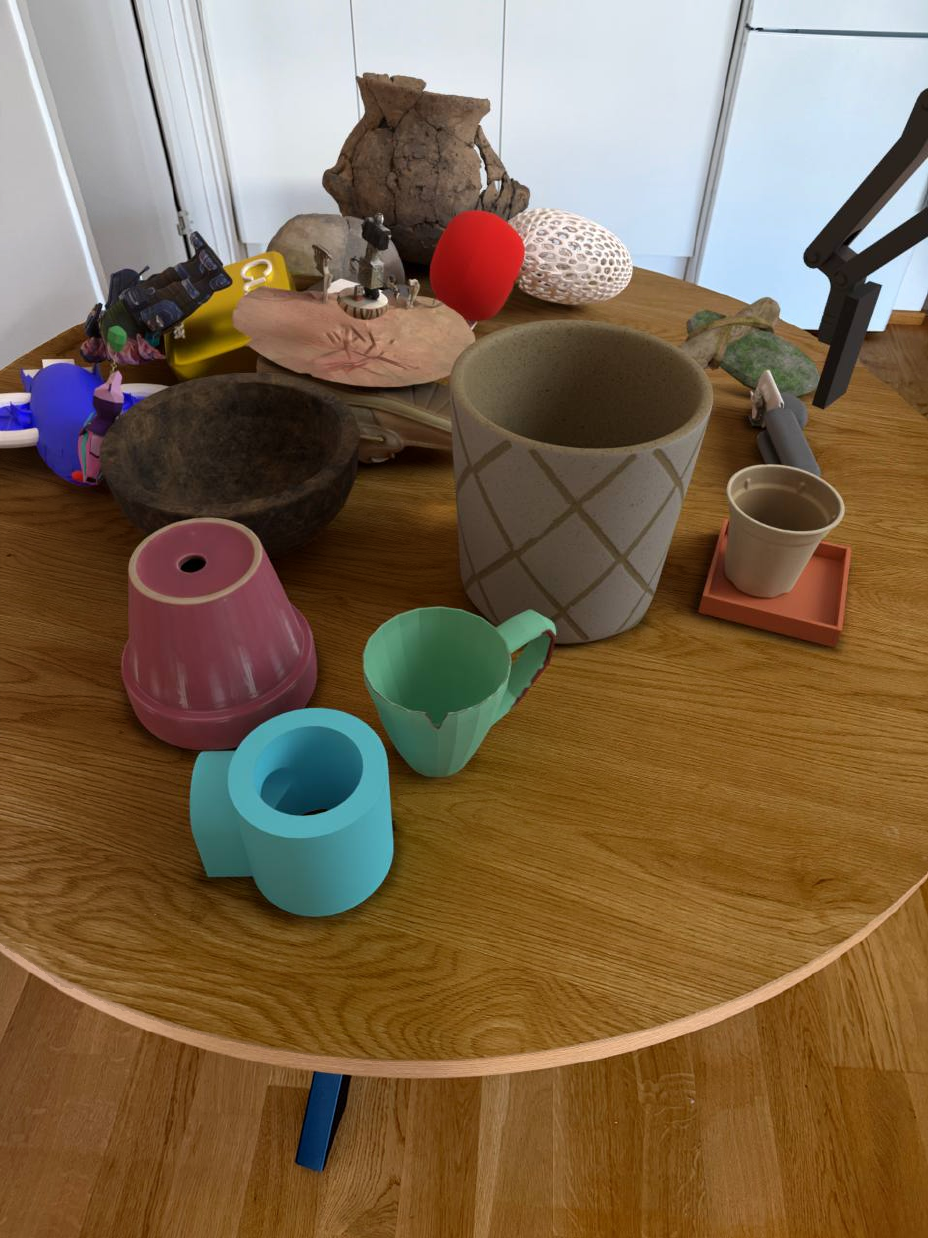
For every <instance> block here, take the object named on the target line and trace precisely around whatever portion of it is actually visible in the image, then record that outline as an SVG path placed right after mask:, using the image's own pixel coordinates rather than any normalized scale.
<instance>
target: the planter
mask: <svg viewBox="0 0 928 1238" xmlns="http://www.w3.org/2000/svg"><path fill="white" fill-rule="evenodd" d="M449 387H450V407H451V428H452V445H453V451H452V458H453V459H452V460H453V474H454V486H455V487H454V488H455V503H456V517H457V519H456V520H457V531H458V532H457V533H458V534H457V536H458V552H459V571H460V577H461V583H462V585H463V588H464V591H465V593H466V595H467V597H468V599H470V601H471V603H472V604H473V605H474V606H475V607H476V608H477V610H479V612H480V613H481V614H482V615H483V616H484V617H485V618H486V619H487V620H488V622H489V623H490V624H491V625H493V626H494V627H498V626H499V625H501V624H502V623H504V622H505V621H507V620H509V619H510V618H512V617H514V616H516V615H518V614H520V613H522V612H524V611H526V610H529V609H530V610H533V611H535V612H537V613H539V614H540V615H542V616H544V617H546V618H548V619H549V620H551V621H552V622H553V623H554V625H555V628H556V638H555V643H554V644H557V645H558V644H560V645H563V644H564V645H567V644H568V645H569V644H572V645H573V644H582V643H590V642H595V641H600V640H604V639H607V638H608V639H609V638H611V637H614V636H617V635H620V634H624V633H625V632H627V631H630V630H631V629H633V628H634V627H636V626H637V625H638V624H639V623H640V622H641V621H642V619H643V618H644V617H645V615H646V613H647V611H648V610H649V608H650V605H651V602H652V600H653V599H654V597H655V593H656V590H657V588H658V586H659V585H658V584H659V581H660V578H661V575H662V572H663V568H664V565H665V561H666V558H667V555H668V552H669V549H670V545H671V543H672V540H673V536H674V532H675V530H676V526H677V524H678V520H679V517H680V514H681V511H682V508H683V505H684V501H685V499H686V498H685V497H686V496H687V493H688V489H689V485H690V483H691V479H692V476H693V472H694V469H695V467H696V463H697V460H698V457H699V454H700V450H701V447H702V444H703V440H704V437H705V434H706V431H707V426H708V423H709V420H710V417H711V412H712V409H713V404H714V391H713V385H712V382H711V379H710V377H709V376H708V374H707V373H706V371H705V369H704V370H703V368H702V367H701V366H700V365H699V364H698V363H697V362H696V361H695V360H694V359H693V358H692V357H690V356H689V355H688V354H687V353H685V352H684V351H682V350H681V349H679V348H678V347H677V346H676V345H675V344H673V343H671V342H669V341H667V340H665V339H663V338H660V337H658V336H656V335H653V334H651V333H648V332H645V331H642V330H639V329H636V328H633V327H629V326H625V325H620V324H616V323H610V322H605V321H598V320H596V321H595V320H587V319H565V318H563V319H545V320H537V321H536V320H535V321H529V322H524V323H519V324H515V325H510V326H507V327H503V328H501V329H498V330H494V331H492V332H490V333H488V334H486V335H484V336H482V337H480V338H478V339H476V341H475V342H474V343H472V344H471V345H469V346H468V347H467V348H466V349H465V350H464V351H463V352H462V353H461V354H460V355H459V356H458V358H457V359H456V361H455V363H454V365H453V367H452V370H451V374H450V375H449Z"/></svg>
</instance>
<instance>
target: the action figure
mask: <svg viewBox="0 0 928 1238" xmlns="http://www.w3.org/2000/svg"><path fill="white" fill-rule="evenodd" d="M189 242H190V245H191V246H192V247H193V249H194V255H193V256H192V257H190V258H189V259H188V260H186V261H183V262H179V263H177V264H176V265H174V266H168V267H167V268H165V269H164V270H163V271H162V272H157V273H152V274H151V275H150V276H149V277H147V278H146V279H142V280H139V279H140V276H142V275H143V274H145V272H148V271H149V270H150V269H151V268H150V266H149V265H146V266H145V267H144V268H143V269H142V270H141V271H139V273H138V272H137V270H135V269H131V268H123V269H119V270H118V271H116V272H112V273H111V274H110V276H109V279H110V281H109V287H108V294H107V301H106V303H105V304H104V303H102V302H98V303H95V304H94V306H93V307H92V308H91V310H90V311H89V313H88V314H87V317H86V320H85V325H84V328H83V332H84V334H85V335H86V336H87V337H88V338H89V339H88V340H86V341H83V342H82V344H81V347H80V348H79V349H78V353H79V355H80V357H81V358H82V359H83V361H84V362H85V363H87V364H93V363H94V364H95V363H97V364H101V363H104V362H105V361H107V362H108V363H110V362H111V361H113V362H114V360H117V359H118V360H117V361H115V364H119V365H122V366H128V365H129V364H130V365H133V366H136V365H137V366H139V365H147V364H149V363H150V362H151V361H155V360H156V359H159V360H166V355H164V354H161V352H160V351H159V350H158V349H156V347H154V348H153V347H151V346H150V345H149V342H147V341H146V340H145V337H146V333H148V334H149V335H150V336H152V335H154V334H155V333H156V332H158V331H160V333H158V334H157V335H155V336H154V338H155V339H156V338H158V337H160V338H161V336H164V334H166V333H168V332H170V331H171V330H172V329H173V328H175V327H176V326H177V325H179V324H180V323H181V322H182V321H184V320H185V319H186V318H188V317H189V316H190V315H192V314H193V313H194V312H195V311H196V310H197V309H198V308H199V307H200V306H202V305H203V304H204V303H206V302H207V301H208V300H209V299H210V298H211V297H212V295H213V294H214V292H217V291H221V290H223V289H226V288H228V287H230V286H231V285H232V284H233V280H232V278H231V277H230V276H229V274H228V273H227V272H226V271H225V270H224V268H223V266H224V263H223V262H222V260H221V259H220V258H219V256H218V255H217V253H216V252H215V251H214V250H213V248H212V247H211V246H210V245H209V244H208V243H207V241H206V240H205V239H204V237H203V236H202V235H201V234H200V233H199V231H198V230H195V231H192V232H191V233H190V235H189ZM103 305H104V310H105V309H106V311H104V310H103ZM114 326H119V327H121V328H122V329H123V330H124V331H125V332H126V334H127V335H128V339H127V342H126V345H125V346H124V348H123V349H122V350H121V351H120V352H119V353H118V355H116V357H117V358H115V354H117V353H116V352H115V351H114V350H112V349H111V348H110V345H109V341H108V332H109V328H111V327H114ZM114 353H115V354H114ZM113 357H114V358H113ZM112 358H113V359H114V360H113V359H112Z"/></svg>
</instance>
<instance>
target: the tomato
mask: <svg viewBox="0 0 928 1238" xmlns="http://www.w3.org/2000/svg"><path fill="white" fill-rule="evenodd" d="M520 235H521V234H518V233H517V231H516V230H515V229H513V228H512V227H511V226H510V225H509V224H508V223H507V222H506V221H504V220H503V219H502V218H500V217H498V216H497V215H495V214H493V213H489V212H486V211H477V210H472V211H465V212H463V213H461V214H459V215H457V216H455V217H454V218H453V219H452V220H451V221H450V222H449V224H448V226H447V227H446V229H445V231H444V232H443V234H442V236H441V238H440V240H439V242H438V244H437V246H436V249H435V252H434V255H433V258H432V262H431V265H429V269H430V270H429V281H430V285H431V289H432V292H433V295H434V297H435V299H436V300H438V301H441V302H443V303H444V304H445V305H446V306H448V307H449V308H451V309H453V310H455V311H456V312H457V313H459V314H460V315H461V316H462V317H463V318H464V320H468V321H477V322H483V321H487V320H490V319H492V318H493V317H495V316H496V315H498V313H499V312H500V310H502V309H503V307H504V306H505V305H506V303H507V302H508V300H509V299H510V297H511V295H512V293H513V291H514V289H515V287H517V286H518V287H519V285H520V281H518V280H517V279H518V277H519V276H518V275H519V274H520V273H519V272H521V271H520V269H521V270H522V271H523V266H522V264H523V261H524V256H525V246H524V243H523V240H522V238H521V237H520ZM525 259H527V258H525ZM524 262H525V261H524ZM523 265H524V264H523ZM518 287H517V288H518Z"/></svg>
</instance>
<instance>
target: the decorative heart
mask: <svg viewBox="0 0 928 1238" xmlns="http://www.w3.org/2000/svg"><path fill="white" fill-rule="evenodd" d="M508 224H509V225H510V226H511V227H512V228H513V229H515V230H516V231H517V233H518V234H519V235H520V237H521V238H522V240H523V243H524V246H525V256H524V261H525V262H524V261H523V264H524V265H523V264H522V266H523V267H522V270H521V269H520V271H521V272H519V273H520V274H519V275H518V276H519V277H518V279H517V280H518V281H520V285H519V287H518V286H516V288H518V289H519V290H521V291H522V292H523V293H525V294H528V295H529V296H532V297H534V298H536V299H539V300H542V301H545V302H549V303H554V304H560V305H571V306H572V305H573V306H578V305H579V306H583V305H593V304H598V303H601V302H605V301H608V300H611V299H612V298H615V297H617V296H618V295H619V294H621V293H622V291H623V290H625V289H626V287H627V286H628V285H629V284H630V281H631V279H632V276H633V270H634V269H633V261H632V256H631V254H630V252H629V250H628V249H627V247H626V246H625V244H624V243H623V242H622V241H621V240H620V239H619V238H618V237H617V235H615V234H614V233H613V232H611V231H610V230H608V229H607V228H606V227H604V226H603V225H601V224H599V223H598V222H595V221H594V220H591V219H589V218H587V217H585V216H582V215H579V214H576V213H573V212H569V211H566V210H562V209H559V208H546V207H537V208H531V209H528V210H525V211H523V212H522V213H519V214H518V215H516V216H515V217H514V218H512V219H511V220H509V222H508ZM541 232H543V233H541ZM555 234H556V235H555ZM562 235H563V236H565V238H563V237H562ZM580 240H581V241H580ZM555 241H558V243H556V242H555ZM571 247H573V248H571ZM578 249H579V250H578ZM595 252H597V253H598V254H597V253H595ZM525 258H526V259H525ZM533 259H534V260H533ZM603 263H604V264H603ZM610 264H611V265H610ZM563 268H564V269H563ZM523 269H524V270H523ZM615 270H616V271H615ZM597 272H598V273H597ZM568 274H570V276H567V275H568ZM539 275H540V276H539ZM601 276H602V277H601ZM609 278H611V279H610V280H609V281H608V279H609ZM539 281H540V282H539ZM590 282H596V283H595V284H589V283H590Z"/></svg>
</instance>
